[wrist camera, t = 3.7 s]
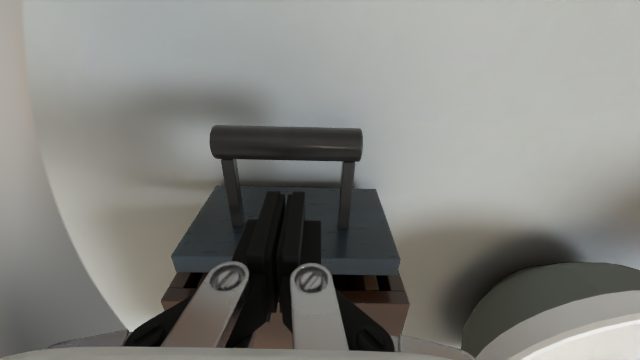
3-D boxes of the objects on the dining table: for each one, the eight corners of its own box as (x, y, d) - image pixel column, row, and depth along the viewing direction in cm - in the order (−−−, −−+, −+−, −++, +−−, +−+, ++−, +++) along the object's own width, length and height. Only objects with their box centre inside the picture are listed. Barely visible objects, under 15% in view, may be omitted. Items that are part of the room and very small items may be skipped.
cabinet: (216, 203, 21) (160, 301, 14) (378, 206, 21) (410, 304, 14) (239, 319, 28) (210, 425, 21) (359, 321, 28) (374, 426, 21)
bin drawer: (200, 102, 16) (133, 145, 10) (388, 107, 17) (426, 151, 11) (239, 307, 26) (215, 390, 20) (358, 308, 26) (369, 391, 20)
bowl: (690, 247, 23) (855, 344, 16) (546, 360, 32) (611, 456, 25) (502, 197, 21) (599, 287, 14) (401, 335, 30) (428, 433, 22)
